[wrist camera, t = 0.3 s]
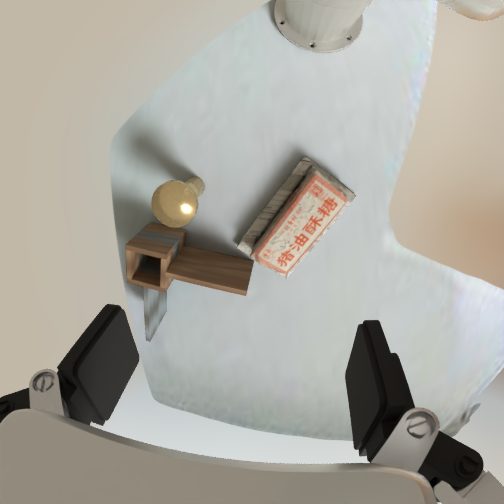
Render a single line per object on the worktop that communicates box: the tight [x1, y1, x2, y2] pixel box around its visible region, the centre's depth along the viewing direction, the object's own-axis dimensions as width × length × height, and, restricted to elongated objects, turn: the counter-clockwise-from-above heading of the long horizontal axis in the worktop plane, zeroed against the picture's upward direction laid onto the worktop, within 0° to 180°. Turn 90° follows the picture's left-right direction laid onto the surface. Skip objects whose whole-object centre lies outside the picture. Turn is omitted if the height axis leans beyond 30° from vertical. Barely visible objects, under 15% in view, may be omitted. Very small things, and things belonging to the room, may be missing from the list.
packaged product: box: [237, 157, 356, 278], centre depth 43 cm, size 18×5×10 cm
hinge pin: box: [152, 177, 205, 228], centre depth 40 cm, size 6×6×10 cm
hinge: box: [126, 223, 254, 342], centre depth 48 cm, size 19×19×9 cm
